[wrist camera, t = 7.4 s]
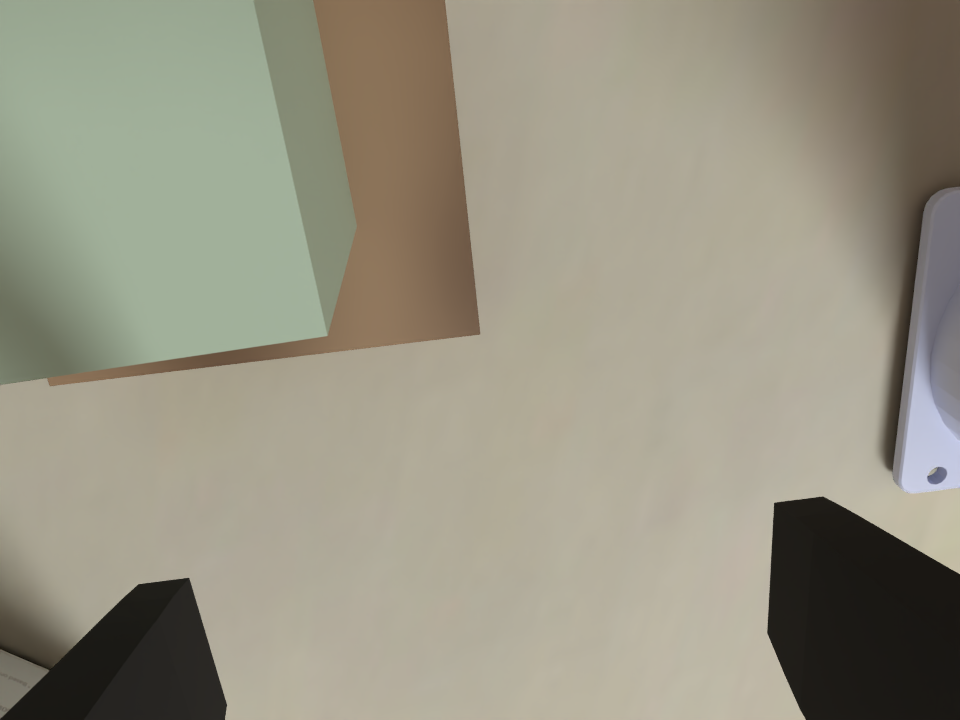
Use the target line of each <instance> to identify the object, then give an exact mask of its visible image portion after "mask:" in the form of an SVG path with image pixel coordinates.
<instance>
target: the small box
mask: <svg viewBox="0 0 960 720" xmlns="http://www.w3.org/2000/svg"><path fill="white" fill-rule="evenodd" d="M49 671H50V670H48V669H45V668H43V667H41V666H38V665H36V664H34V663H31V662H29V661H27V660H24V659H22V658H19V657H17V656H15V655H12V654H10V653H8V652H5V651H3V650H1V649H0V718H1V717H3V716H4V715H5V714H6V713H7V712H8V711H9V710H10V709H11V708H12V707H13V706H14V705H15V704H16V703H17V702H18V701H19V700H20V699H21V698H22V697H23V696H24V695H25V694H26V693H27V692H28V691H29V690H30V689H31V688H32V687H33V686H34V685H35V684H36V683H38V682H39V681H40V680H41V679H42V678H43V677H44V676H45V675H46V674H47V673H48V672H49Z"/></svg>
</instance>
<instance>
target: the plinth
mask: <svg viewBox="0 0 960 720" xmlns="http://www.w3.org/2000/svg"><path fill="white" fill-rule="evenodd" d="M313 3H314V8H315V13H316V18H317V23H318V28H319V33H320V39H321V44H322V49H323V54H324V59H325V64H326V70H327V75H328V80H329V85H330V90H331V95H332V100H333V106H334V111H335V116H336V121H337V126H338V131H339V136H340V142H341V147H342V152H343V157H344V162H345V167H346V173H347V178H348V183H349V188H350V193H351V198H352V203H353V209H354V214H355V219H356V224H357V228H356V231H355V235H354V239H353V243H352V246H351V250H350V254H349V258H348V261H347V265H346V269H345V273H344V276H343V280H342V284H341V288H340V291H339V295H338V299H337V303H336V306H335V310H334V314H333V318H332V321H331V325H330V329H329V332H328V336H325V337H318V338H311V339H304V340H298V341H291V342H284V343H278V344H271V345H264V346H258V347H251V348H244V349H237V350H231V351H224V352H217V353H211V354H204V355H197V356H191V357H184V358H177V359H170V360H164V361H157V362H150V363H144V364H137V365H130V366H124V367H117V368H110V369H103V370H97V371H90V372H83V373H77V374H70V375H63V376H57V377H50V378H47V379H48V382H49V385H50V386H55V385H63V384H71V383H80V382H88V381H96V380H105V379H113V378H121V377H130V376H138V375H146V374H155V373H163V372H171V371H180V370H188V369H196V368H205V367H213V366H221V365H230V364H238V363H246V362H254V361H263V360H271V359H279V358H288V357H296V356H304V355H313V354H321V353H329V352H338V351H346V350H354V349H363V348H371V347H379V346H388V345H396V344H404V343H412V342H421V341H429V340H437V339H446V338H454V337H462V336H471V335H479V334H480V327H479V318H478V308H477V299H476V289H475V280H474V270H473V261H472V252H471V242H470V233H469V223H468V214H467V204H466V195H465V186H464V176H463V167H462V157H461V148H460V138H459V129H458V120H457V110H456V101H455V91H454V82H453V73H452V63H451V54H450V44H449V35H448V25H447V16H446V7H445V0H313Z"/></svg>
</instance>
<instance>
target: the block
mask: <svg viewBox="0 0 960 720" xmlns="http://www.w3.org/2000/svg"><path fill="white" fill-rule="evenodd" d="M356 228H357V224H356V219H355V214H354V209H353V203H352V198H351V193H350V188H349V183H348V178H347V173H346V167H345V162H344V157H343V152H342V147H341V142H340V136H339V131H338V126H337V121H336V116H335V111H334V106H333V100H332V95H331V90H330V85H329V80H328V75H327V70H326V64H325V59H324V54H323V49H322V44H321V39H320V33H319V28H318V23H317V18H316V13H315V8H314V3H313V0H0V385H3V384H10V383H16V382H23V381H30V380H36V379H43V378H50V377H57V376H63V375H70V374H77V373H83V372H90V371H97V370H103V369H110V368H117V367H124V366H130V365H137V364H144V363H150V362H157V361H164V360H170V359H177V358H184V357H191V356H197V355H204V354H211V353H217V352H224V351H231V350H237V349H244V348H251V347H258V346H264V345H271V344H278V343H284V342H291V341H298V340H304V339H311V338H318V337H325V336H328V332H329V329H330V325H331V321H332V318H333V314H334V310H335V306H336V303H337V299H338V295H339V291H340V288H341V284H342V280H343V276H344V273H345V269H346V265H347V261H348V258H349V254H350V250H351V246H352V243H353V239H354V235H355V231H356Z"/></svg>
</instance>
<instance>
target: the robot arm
mask: <svg viewBox="0 0 960 720" xmlns="http://www.w3.org/2000/svg"><path fill="white" fill-rule="evenodd" d="M936 467H938V468H937V470H936V472H935V473H934V474H932V475H930V476H928V474H929V472H930V471H931V470H932V469H933V468H936ZM892 475H893V480H894V482H895V483H896V484H897V485H898V486H899V487H900V488H901V489H902V490H903V491H905V492H907V493H922V492H930V491H937V490H945V489H953V488H960V187H952V188H946V189H943V190H940V191H938V192H937V193H935V194H934V195H932V196H931V198H930V199H929V200H928V202H927V203H926V206H925V209H924V212H923V220H922V229H921V237H920V245H919V254H918V262H917V271H916V279H915V287H914V296H913V304H912V313H911V321H910V329H909V338H908V346H907V355H906V363H905V371H904V380H903V388H902V397H901V405H900V413H899V422H898V430H897V439H896V447H895V455H894V464H893V472H892ZM767 633H768V636H769V638H770V640H771V643H772V645H773V648H774V650H775V652H776V655H777V657H778V660H779V662H780V665H781V667H782V669H783V672H784V674H785V676H786V679H787V681H788V683H789V685H790V688H791V690H792V692H793V694H794V697H795V699H796V701H797V703H798V706H799V708H800V710H801V712H802V713H803V715H804V717H805V719H806V720H960V574H958V573H957V572H955V571H953V570H951V569H950V568H948V567H946V566H944V565H943V564H941V563H939V562H937V561H936V560H934V559H932V558H930V557H929V556H927V555H925V554H923V553H922V552H920V551H918V550H917V549H915V548H913V547H911V546H910V545H908V544H906V543H905V542H903V541H901V540H899V539H898V538H896V537H894V536H893V535H891V534H889V533H887V532H886V531H884V530H882V529H881V528H879V527H877V526H875V525H874V524H872V523H870V522H868V521H867V520H865V519H863V518H862V517H860V516H858V515H856V514H855V513H853V512H851V511H849V510H847V509H846V508H844V507H842V506H840V505H838V504H836V503H834V502H832V501H830V500H829V499H827V498H825V497H816V498H808V499H801V500H793V501H785V502H777V503H774V518H773V537H772V556H771V575H770V593H769V612H768V631H767ZM226 707H227V704H226V700H225V697H224V694H223V690H222V687H221V684H220V680H219V677H218V673H217V670H216V667H215V663H214V660H213V657H212V653H211V650H210V647H209V643H208V640H207V636H206V633H205V630H204V626H203V623H202V620H201V616H200V613H199V610H198V606H197V603H196V599H195V596H194V593H193V589H192V586H191V583H190V579H189V578H184V579H176V580H169V581H161V582H153V583H145V584H138V585H137V586H136V587H135V588H134V589H133V590H132V591H131V592H130V593H128V594H127V595H126V596H125V597H124V598H123V599H122V600H121V601H120V602H119V603H118V604H117V605H116V606H115V607H114V608H113V609H112V610H111V611H109V612H108V613H107V614H106V615H105V616H104V617H103V618H102V619H101V620H100V621H99V622H98V623H97V624H96V625H95V626H94V627H93V628H92V629H91V630H90V631H89V632H88V633H87V634H86V635H85V636H84V637H83V638H82V639H81V640H80V641H79V642H78V643H77V644H76V645H75V646H74V647H73V648H72V649H71V650H70V651H69V652H68V653H67V654H66V655H65V656H64V657H63V658H62V659H61V660H60V661H59V662H58V663H57V664H56V665H55V666H54V667H53V668H52V669H51V670H50V671H49V672H48V673H47V674H46V675H45V676H44V677H43V678H42V679H41V680H40V681H39V682H38V683H36V684H35V685H34V686H33V687H32V688H31V689H30V690H29V691H28V692H27V693H26V694H25V695H24V696H23V697H22V698H21V699H20V700H19V701H18V702H17V703H16V704H15V705H14V706H13V707H12V708H11V709H10V710H9V711H8V712H7V713H6V714H5V715H4V716H3V717H1V718H0V720H225V715H226Z"/></svg>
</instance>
